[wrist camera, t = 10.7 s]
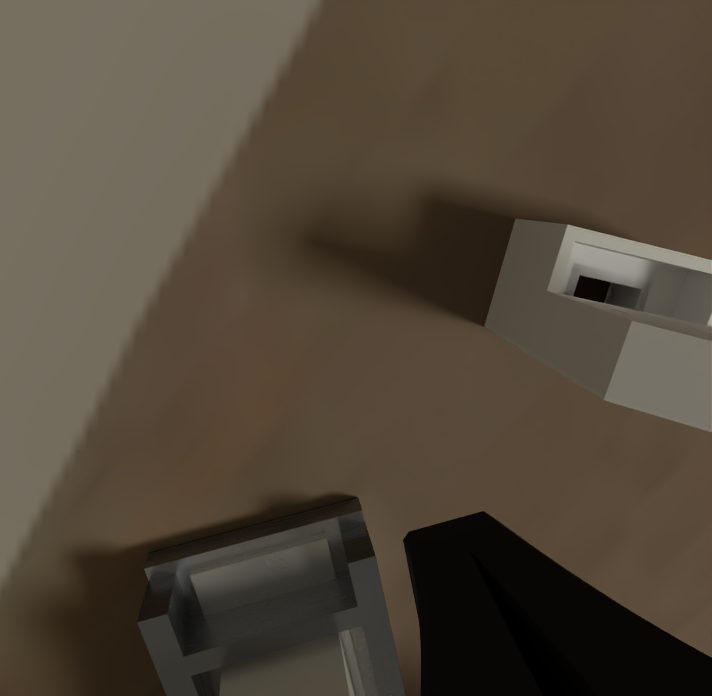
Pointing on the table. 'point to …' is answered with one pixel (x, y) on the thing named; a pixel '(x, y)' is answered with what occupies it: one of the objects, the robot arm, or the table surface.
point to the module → (292, 672)
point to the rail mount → (269, 600)
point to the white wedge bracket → (611, 317)
